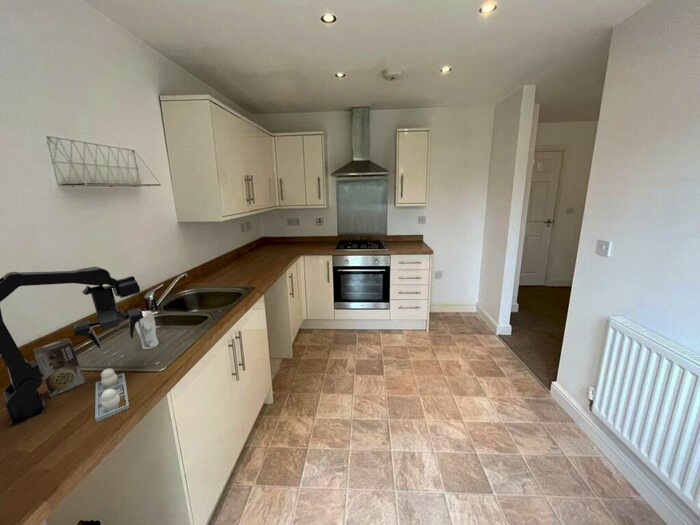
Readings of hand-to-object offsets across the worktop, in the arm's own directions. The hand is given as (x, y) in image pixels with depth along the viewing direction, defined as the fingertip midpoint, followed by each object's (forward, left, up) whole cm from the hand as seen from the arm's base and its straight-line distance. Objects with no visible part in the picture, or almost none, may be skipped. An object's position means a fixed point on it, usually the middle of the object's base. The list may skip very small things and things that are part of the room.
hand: (116, 342), depth 105 cm
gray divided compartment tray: (-4, -15, -12) cm, 20 cm away
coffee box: (-16, +4, -12) cm, 21 cm away
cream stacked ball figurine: (-4, -8, -12) cm, 15 cm away
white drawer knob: (-4, -22, -12) cm, 25 cm away
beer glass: (+10, +16, -12) cm, 22 cm away
